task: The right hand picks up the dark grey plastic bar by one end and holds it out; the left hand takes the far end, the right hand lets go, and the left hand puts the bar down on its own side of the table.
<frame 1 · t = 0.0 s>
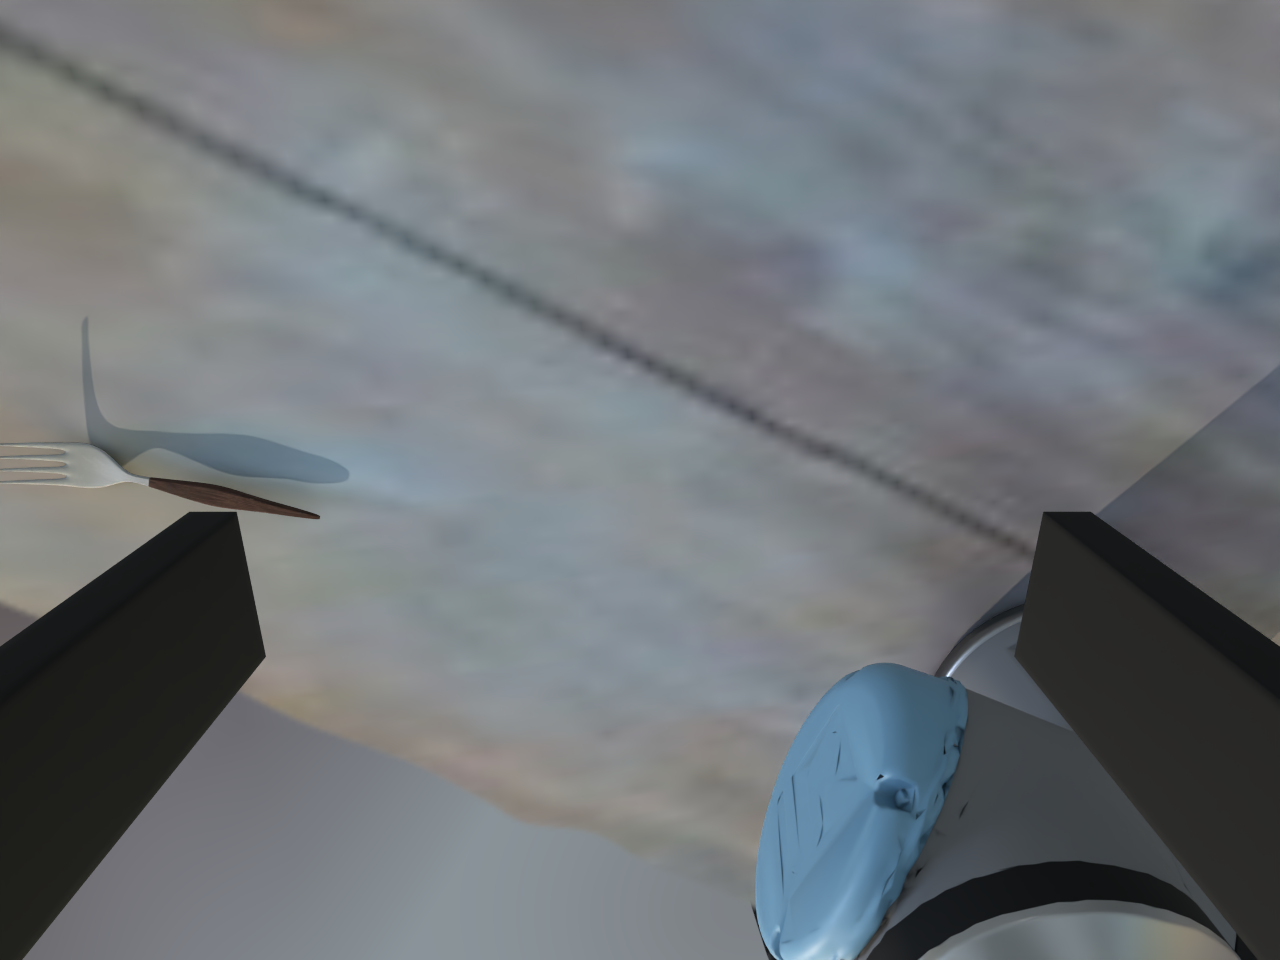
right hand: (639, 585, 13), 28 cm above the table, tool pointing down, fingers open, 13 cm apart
fork: (178, 481, 42), on the table
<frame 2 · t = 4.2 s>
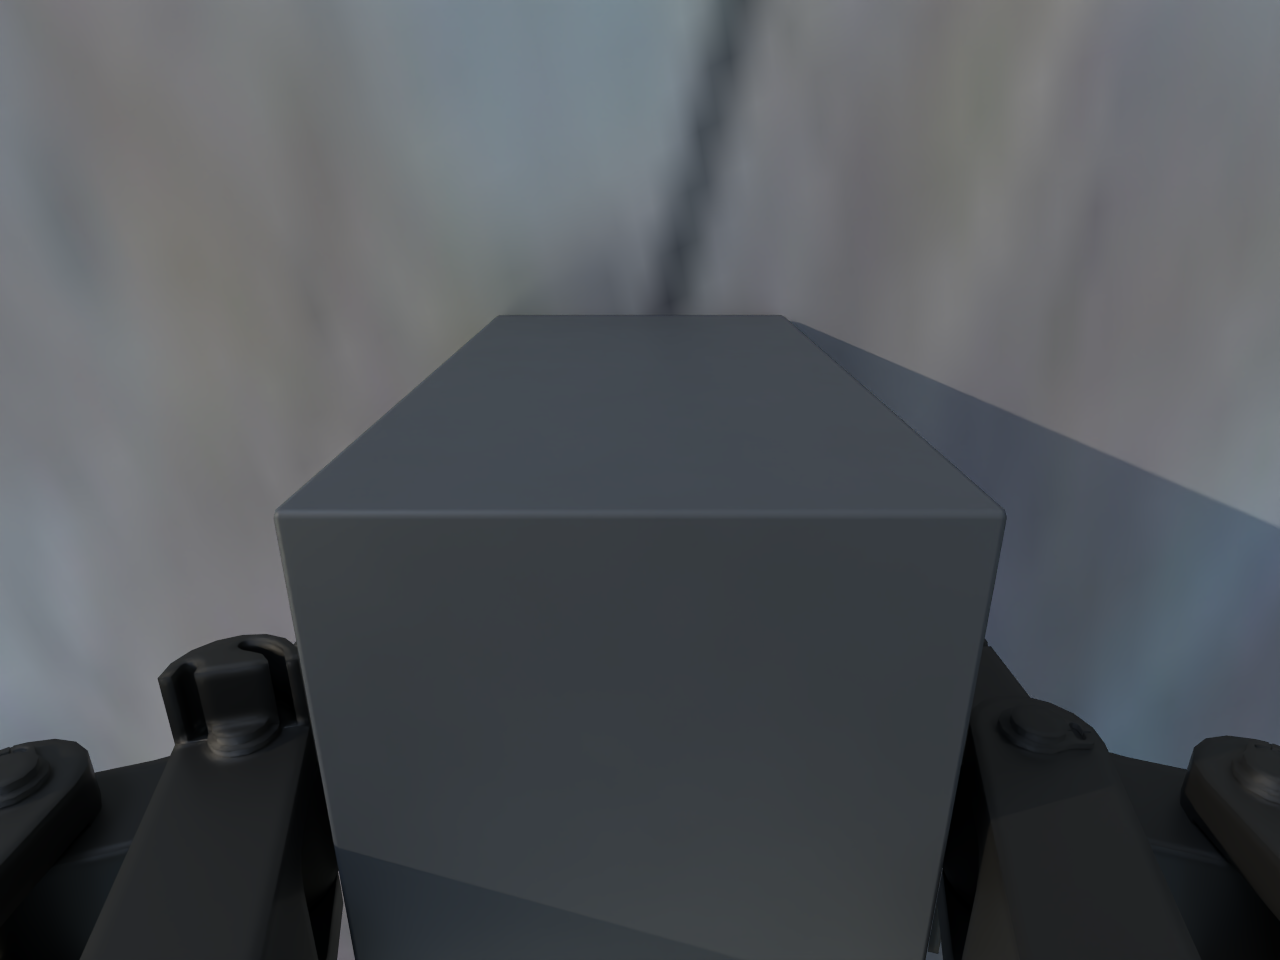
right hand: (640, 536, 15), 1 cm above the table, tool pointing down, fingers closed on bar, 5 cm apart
bar: (640, 822, 18), on the table, touching right hand
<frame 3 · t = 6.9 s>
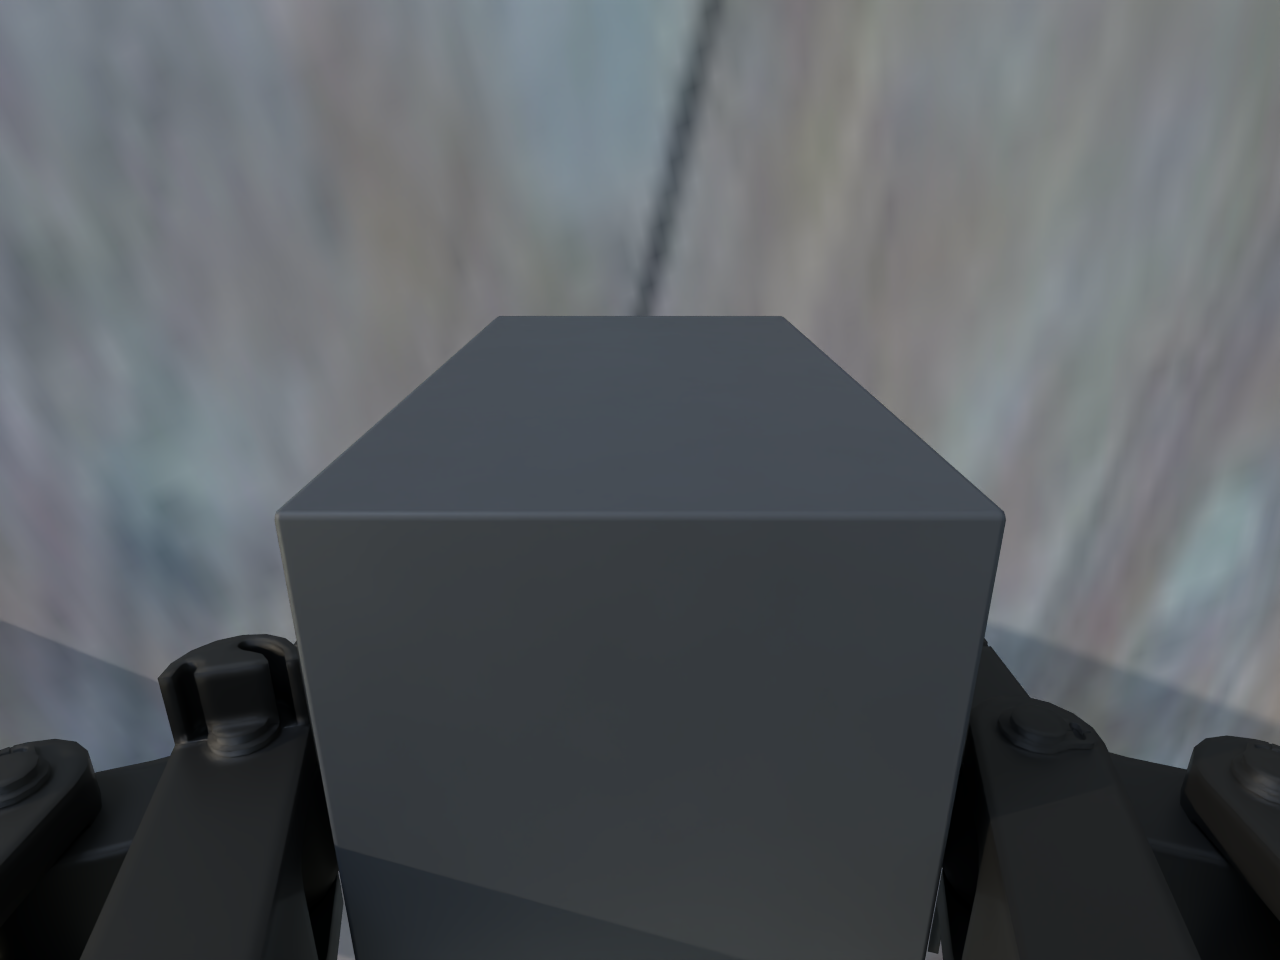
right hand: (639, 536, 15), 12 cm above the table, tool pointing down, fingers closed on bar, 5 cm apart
bar: (640, 822, 18), point 11 cm above the table, touching right hand
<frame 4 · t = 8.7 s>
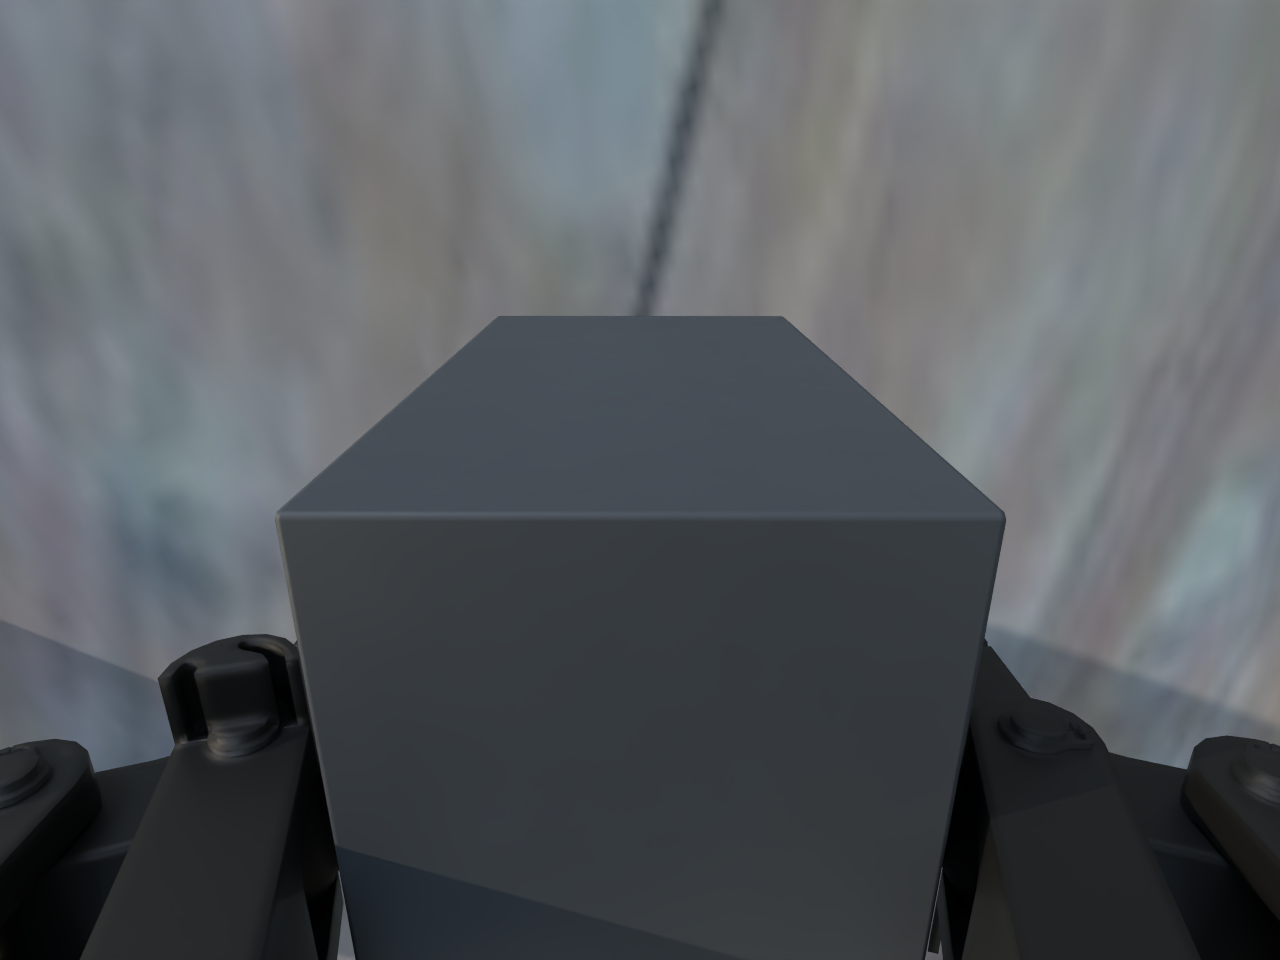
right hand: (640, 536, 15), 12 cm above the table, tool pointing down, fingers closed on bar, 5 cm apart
bar: (640, 822, 18), point 11 cm above the table, touching right hand, left hand
when the right hand's fingers open (12 cm above the table, at t = 9.5 s): bar stays where it is, held by the left hand.
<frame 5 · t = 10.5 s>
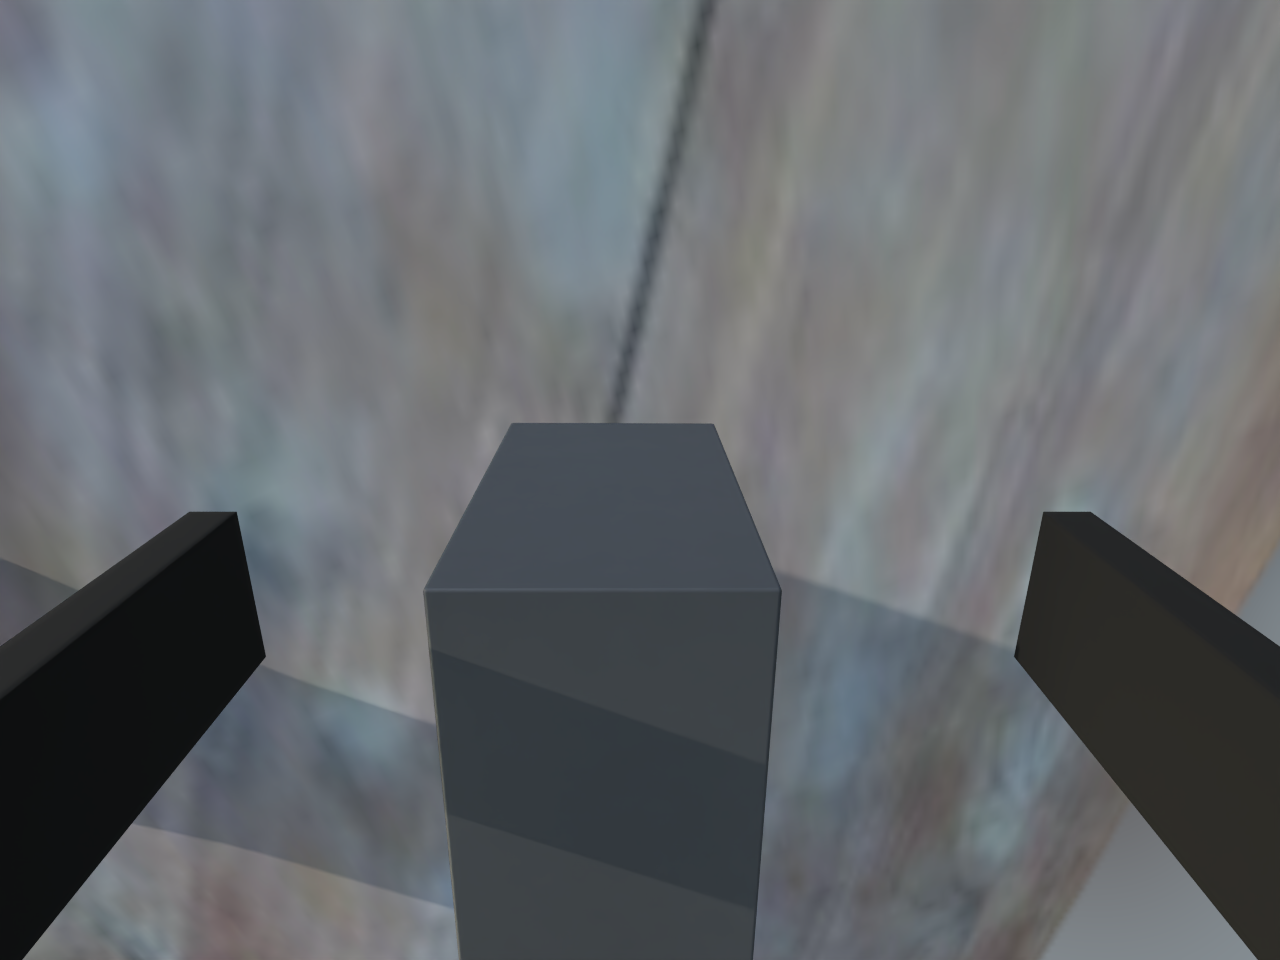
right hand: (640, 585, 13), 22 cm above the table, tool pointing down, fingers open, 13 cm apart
bar: (614, 793, 23), point 14 cm above the table, touching left hand
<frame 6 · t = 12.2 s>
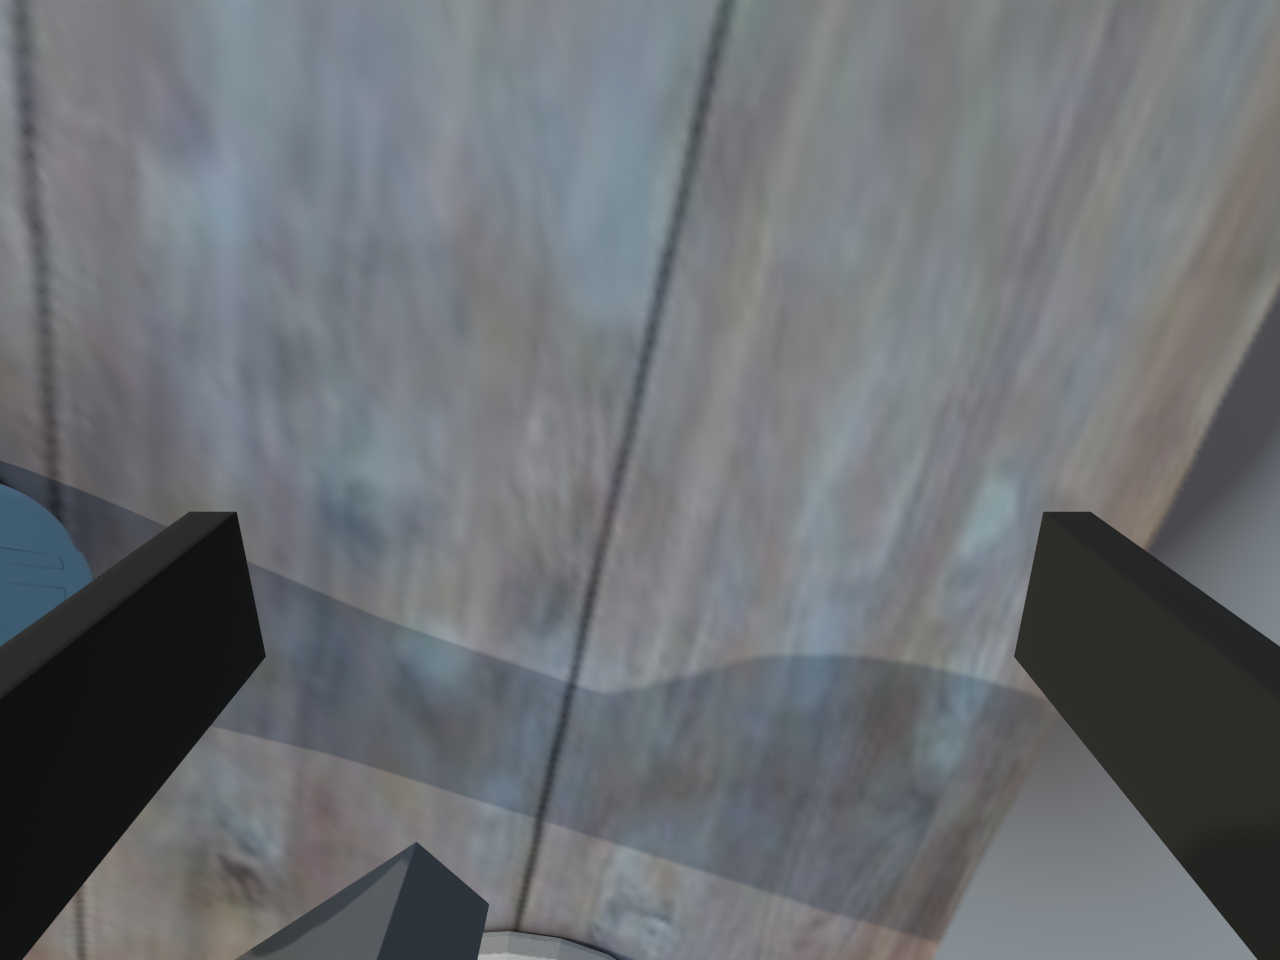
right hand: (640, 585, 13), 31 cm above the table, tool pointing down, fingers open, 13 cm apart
when the left hand's fingers open (2 cm above the table, at t = 15.8 s): bar drops 1 cm, on the table.
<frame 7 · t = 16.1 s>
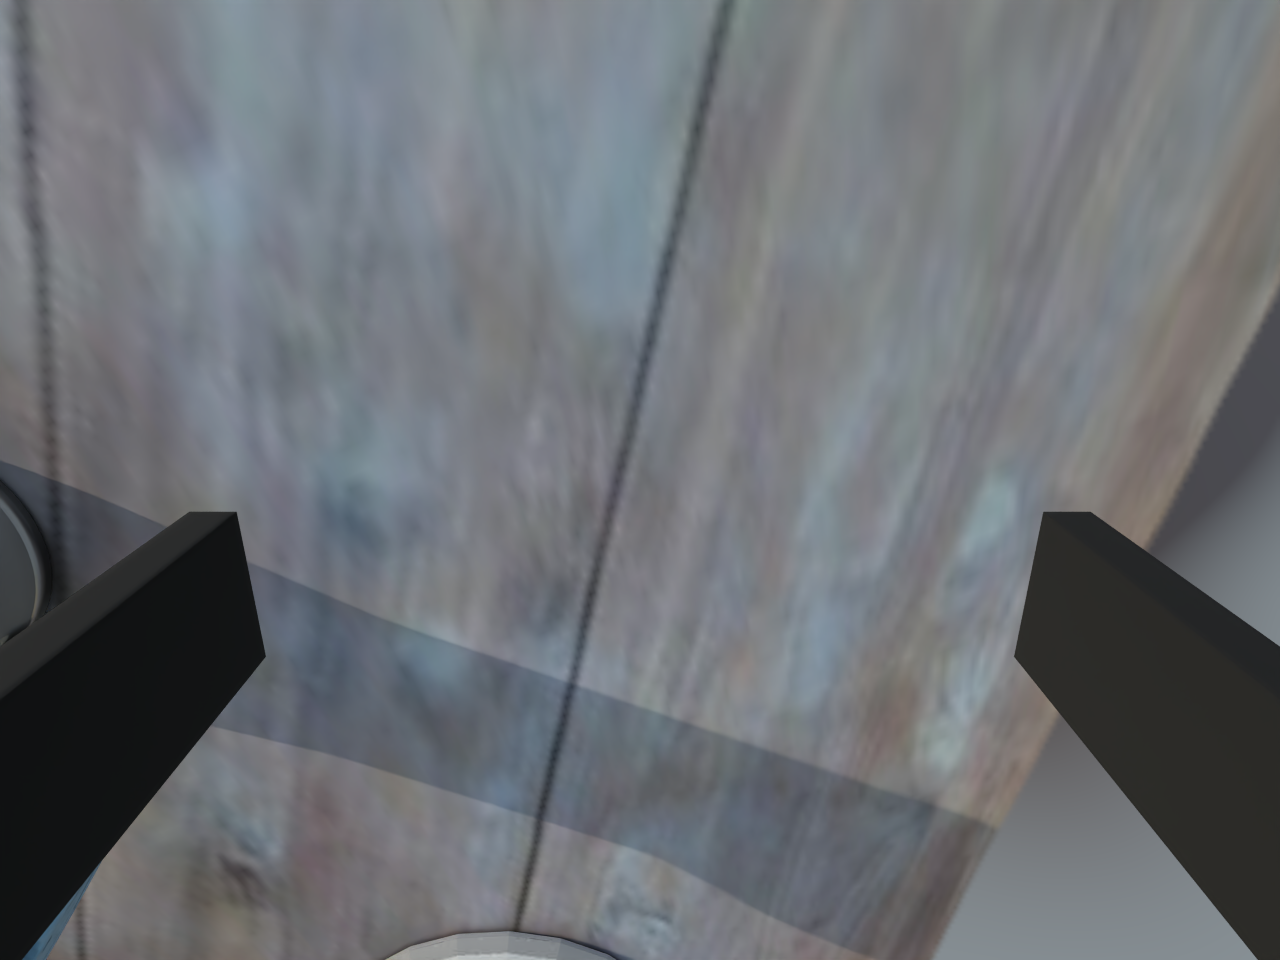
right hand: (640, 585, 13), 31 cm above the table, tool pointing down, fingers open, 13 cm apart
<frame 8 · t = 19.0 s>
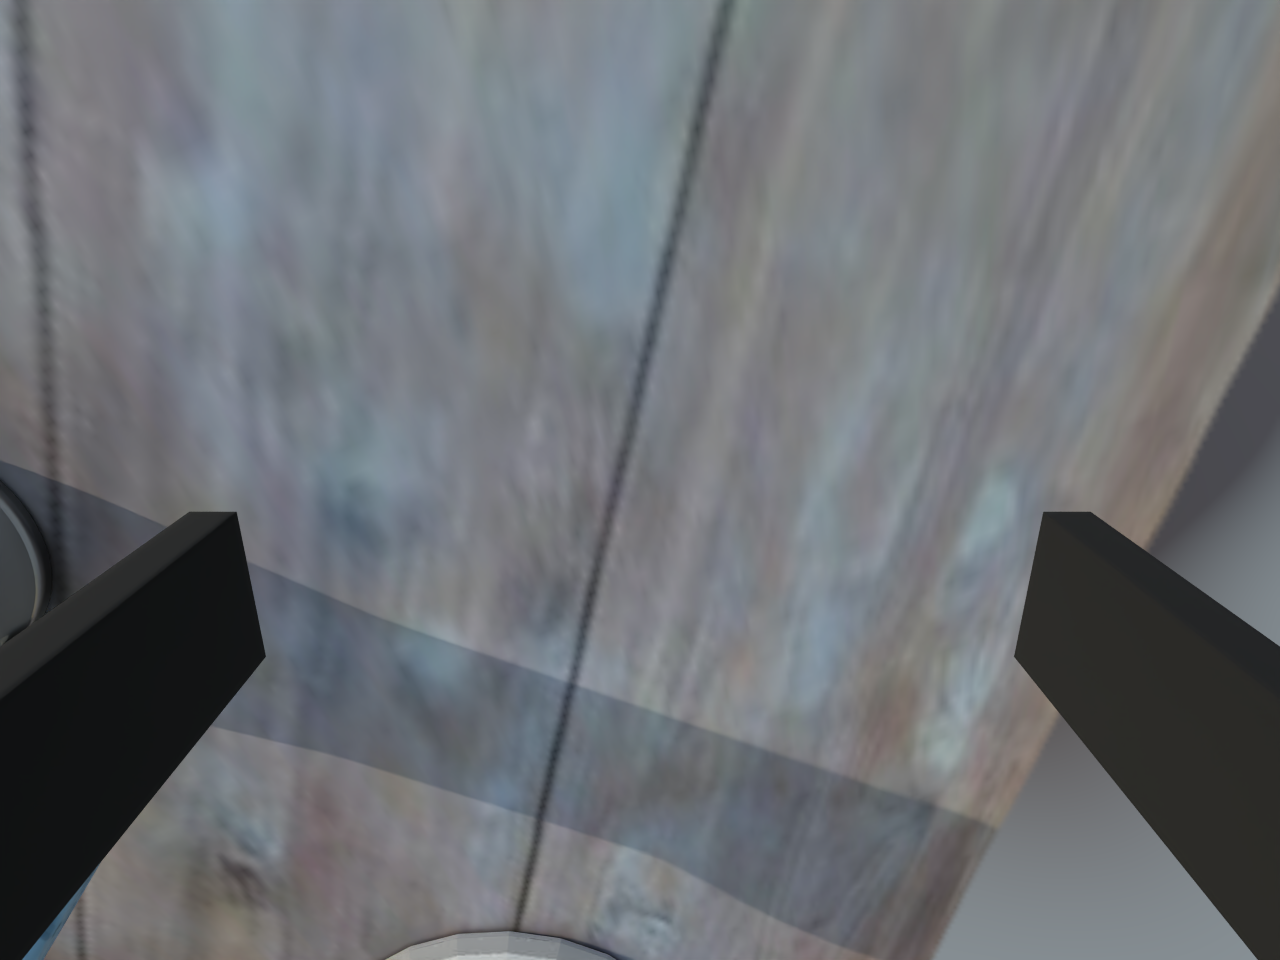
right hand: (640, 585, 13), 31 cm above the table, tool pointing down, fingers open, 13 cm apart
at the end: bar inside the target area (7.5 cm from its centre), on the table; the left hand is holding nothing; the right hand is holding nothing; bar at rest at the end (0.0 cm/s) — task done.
